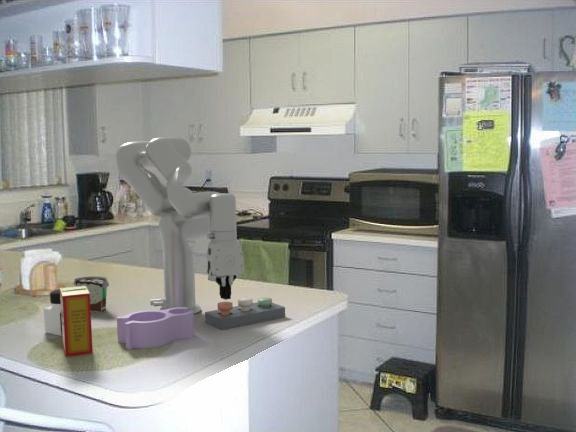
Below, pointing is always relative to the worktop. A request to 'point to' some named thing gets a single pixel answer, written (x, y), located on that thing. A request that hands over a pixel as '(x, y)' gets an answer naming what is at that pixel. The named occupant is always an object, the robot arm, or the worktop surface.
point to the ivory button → (245, 304)
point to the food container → (95, 291)
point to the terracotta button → (225, 308)
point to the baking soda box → (76, 320)
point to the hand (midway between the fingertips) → (225, 298)
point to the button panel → (244, 316)
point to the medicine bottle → (53, 314)
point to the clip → (155, 327)
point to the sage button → (264, 302)
